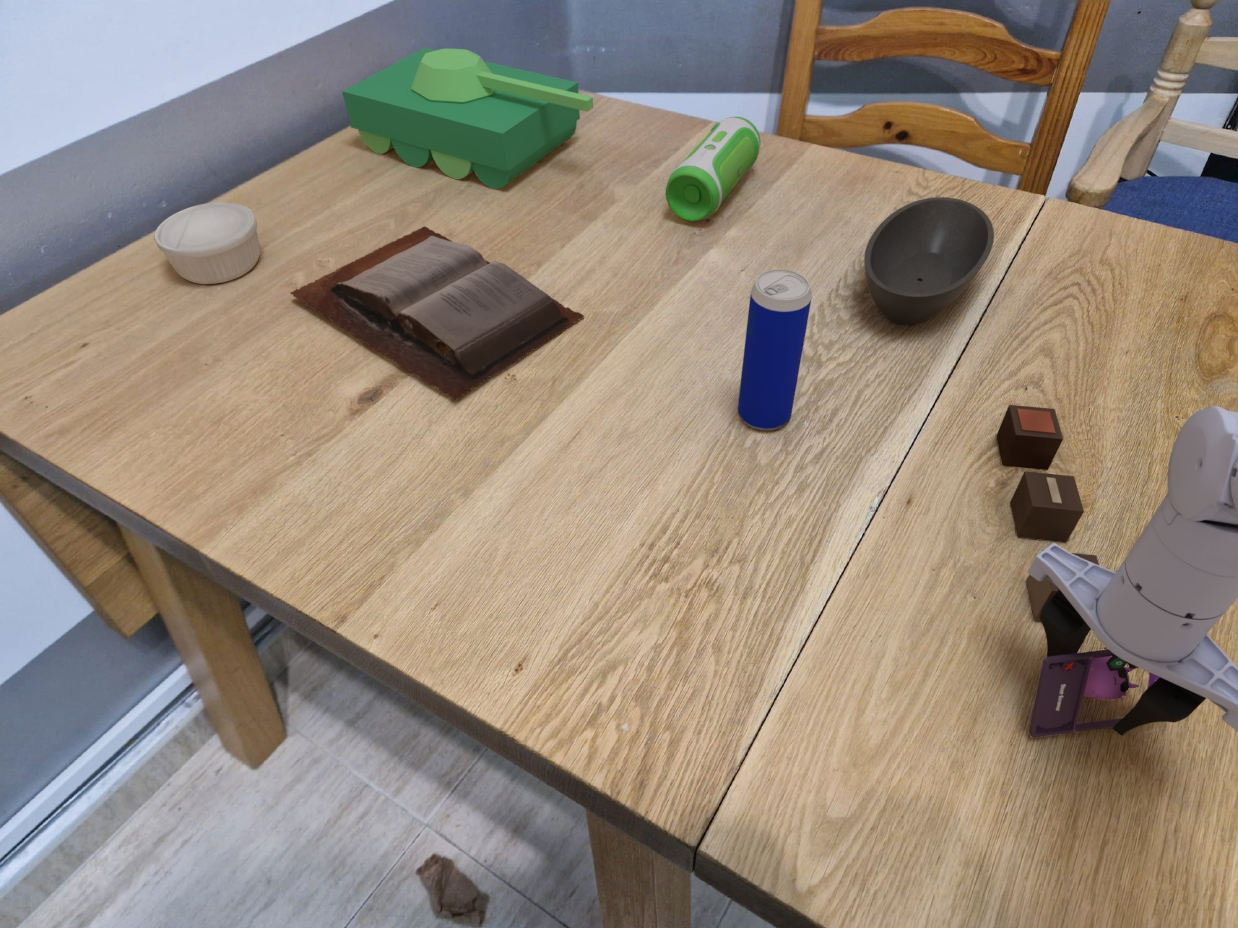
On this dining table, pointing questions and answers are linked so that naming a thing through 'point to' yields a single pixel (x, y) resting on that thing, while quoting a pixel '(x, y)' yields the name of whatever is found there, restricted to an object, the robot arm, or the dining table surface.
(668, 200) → the speaker
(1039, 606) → the brown box
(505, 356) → the book
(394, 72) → the toy tank
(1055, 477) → the brown box
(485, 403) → the dining table surface
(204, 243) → the ramekin
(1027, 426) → the brown box
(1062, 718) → the game card
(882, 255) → the bowl
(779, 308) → the beverage can
